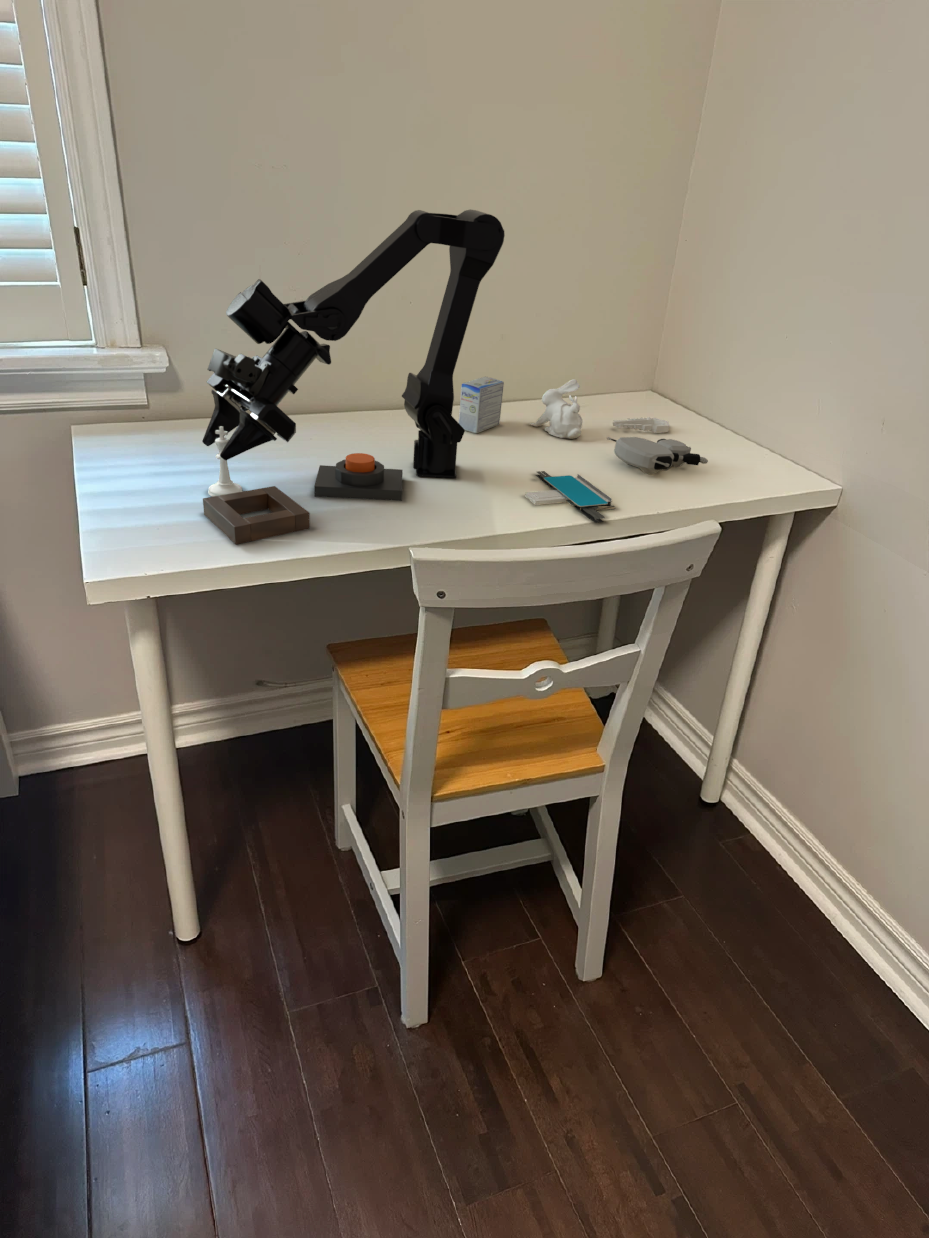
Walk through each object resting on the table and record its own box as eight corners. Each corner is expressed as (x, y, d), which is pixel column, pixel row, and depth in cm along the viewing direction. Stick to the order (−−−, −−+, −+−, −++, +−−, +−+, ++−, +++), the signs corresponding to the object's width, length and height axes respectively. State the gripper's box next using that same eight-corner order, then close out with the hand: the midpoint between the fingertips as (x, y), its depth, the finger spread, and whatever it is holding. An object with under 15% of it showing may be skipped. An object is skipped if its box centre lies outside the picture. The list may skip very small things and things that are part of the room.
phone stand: (503, 478, 141) (504, 468, 140) (566, 473, 146) (568, 463, 145) (560, 527, 125) (561, 516, 125) (629, 519, 130) (631, 509, 129)
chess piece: (234, 501, 125) (230, 434, 120) (202, 496, 125) (196, 429, 120) (248, 489, 129) (244, 424, 124) (217, 484, 130) (212, 419, 125)
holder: (275, 501, 126) (274, 485, 124) (310, 529, 118) (309, 512, 117) (203, 515, 120) (202, 498, 118) (235, 544, 112) (234, 527, 111)
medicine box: (481, 420, 168) (485, 375, 163) (500, 425, 166) (504, 380, 161) (457, 428, 162) (460, 382, 158) (476, 434, 160) (480, 388, 156)
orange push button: (375, 464, 133) (375, 453, 132) (374, 474, 129) (374, 463, 129) (346, 463, 133) (346, 452, 132) (344, 473, 129) (344, 462, 128)
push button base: (402, 479, 137) (402, 458, 135) (401, 501, 129) (402, 479, 128) (319, 475, 136) (319, 454, 134) (314, 497, 128) (314, 474, 126)
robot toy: (661, 455, 160) (599, 458, 152) (667, 431, 158) (604, 433, 150) (708, 477, 151) (645, 482, 144) (715, 453, 149) (651, 456, 141)
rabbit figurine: (527, 424, 168) (533, 374, 163) (558, 420, 171) (564, 372, 167) (565, 443, 159) (573, 391, 154) (596, 439, 163) (604, 388, 158)
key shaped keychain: (622, 436, 166) (623, 427, 165) (608, 428, 170) (610, 419, 169) (677, 432, 171) (679, 423, 170) (663, 424, 175) (664, 416, 174)
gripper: (215, 314, 124) (146, 398, 123) (272, 343, 111) (196, 437, 111) (268, 365, 132) (204, 444, 132) (326, 397, 120) (256, 485, 119)
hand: (213, 451), depth 123 cm, fingers open, 6 cm apart
